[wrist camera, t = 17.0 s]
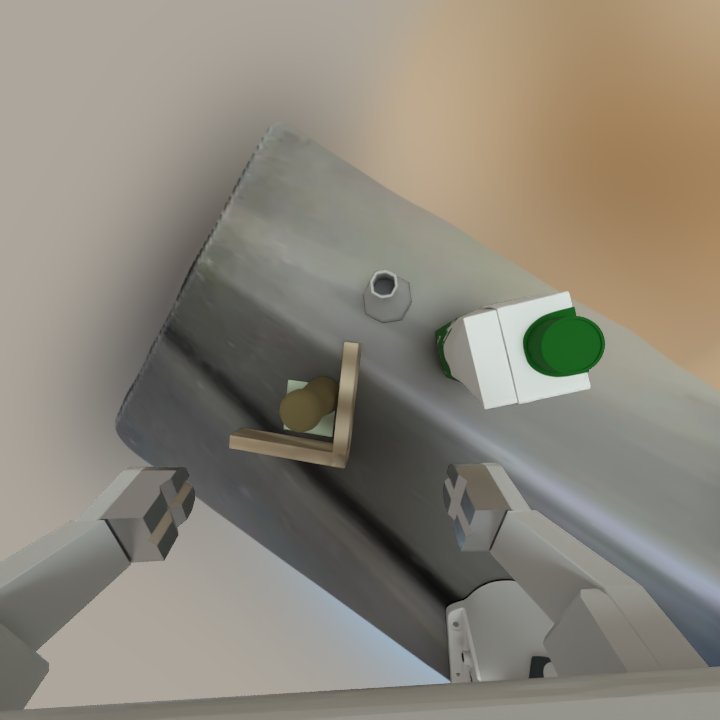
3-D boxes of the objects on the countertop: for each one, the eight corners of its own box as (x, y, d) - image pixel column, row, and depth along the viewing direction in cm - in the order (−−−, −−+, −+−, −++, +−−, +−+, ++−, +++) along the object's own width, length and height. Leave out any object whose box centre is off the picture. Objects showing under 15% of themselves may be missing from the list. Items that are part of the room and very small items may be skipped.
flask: (416, 277, 38) (422, 255, 29) (406, 327, 39) (410, 321, 29) (367, 270, 39) (357, 246, 29) (359, 319, 40) (346, 311, 30)
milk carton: (505, 370, 37) (625, 400, 18) (440, 384, 39) (486, 427, 19) (490, 310, 37) (596, 272, 17) (426, 326, 39) (457, 308, 19)
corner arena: (348, 458, 41) (344, 468, 38) (242, 439, 44) (229, 447, 40) (361, 343, 40) (358, 343, 37) (251, 330, 42) (238, 329, 39)
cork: (298, 404, 42) (263, 425, 31) (313, 369, 41) (282, 379, 30) (332, 421, 41) (309, 448, 30) (348, 386, 41) (330, 401, 30)
